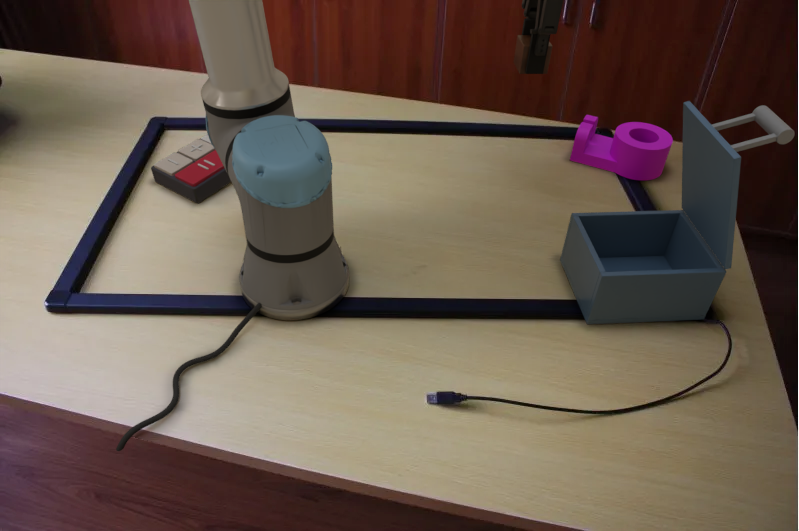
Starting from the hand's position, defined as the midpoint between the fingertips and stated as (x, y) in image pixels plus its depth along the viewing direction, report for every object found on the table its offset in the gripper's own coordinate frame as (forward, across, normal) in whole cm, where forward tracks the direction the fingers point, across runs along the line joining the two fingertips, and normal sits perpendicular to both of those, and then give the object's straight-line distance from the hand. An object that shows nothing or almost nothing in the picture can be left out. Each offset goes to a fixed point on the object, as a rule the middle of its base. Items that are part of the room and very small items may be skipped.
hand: (530, 65), depth 103 cm
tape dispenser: (+20, -3, +21) cm, 29 cm away
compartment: (+20, +32, +10) cm, 39 cm away
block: (0, 0, 0) cm, 0 cm away
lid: (+2, +32, +15) cm, 35 cm away
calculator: (+20, -1, -54) cm, 57 cm away
